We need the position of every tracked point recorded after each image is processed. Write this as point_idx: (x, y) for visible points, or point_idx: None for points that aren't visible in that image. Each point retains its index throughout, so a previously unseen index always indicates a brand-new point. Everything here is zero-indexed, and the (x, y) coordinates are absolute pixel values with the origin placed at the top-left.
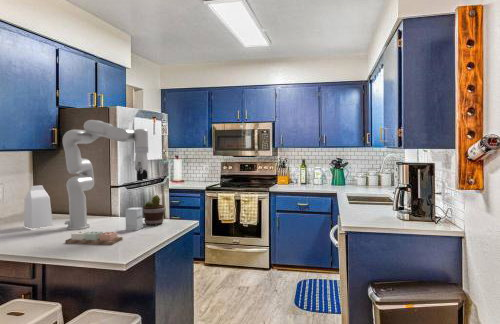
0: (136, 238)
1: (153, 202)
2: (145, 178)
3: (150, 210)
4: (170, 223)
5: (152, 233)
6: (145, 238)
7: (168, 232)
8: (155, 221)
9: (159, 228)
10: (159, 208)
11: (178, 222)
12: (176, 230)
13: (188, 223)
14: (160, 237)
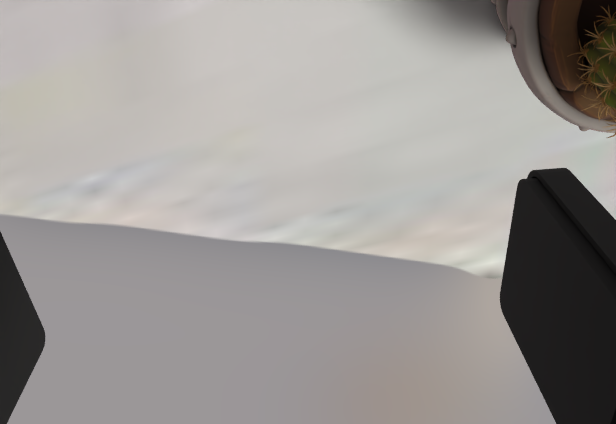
0: (9, 15)
1: (613, 54)
2: (511, 275)
3: (518, 6)
4: None
5: (191, 84)
6: (30, 87)
7: (234, 187)
8: (499, 18)
9: (370, 81)
10: (564, 99)
11: (584, 162)
12: (298, 220)
13: None
14: (85, 179)
